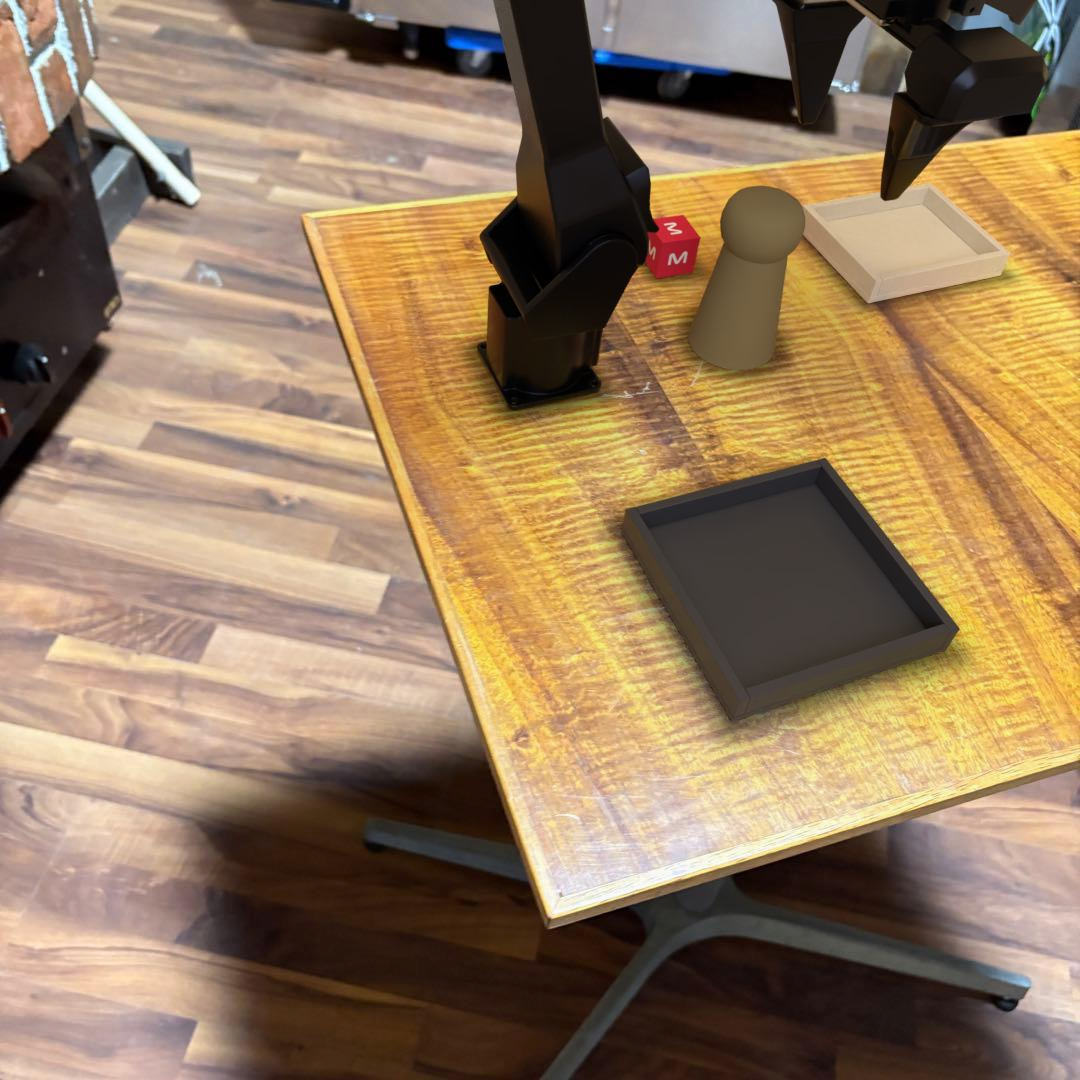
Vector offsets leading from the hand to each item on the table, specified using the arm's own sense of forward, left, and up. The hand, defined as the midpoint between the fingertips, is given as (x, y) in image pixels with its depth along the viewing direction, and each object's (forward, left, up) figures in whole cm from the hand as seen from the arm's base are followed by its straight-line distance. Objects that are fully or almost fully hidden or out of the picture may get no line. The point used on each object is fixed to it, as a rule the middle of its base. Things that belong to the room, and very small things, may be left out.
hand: (846, 159), depth 63 cm
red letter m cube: (-6, +9, -13) cm, 17 cm away
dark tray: (-13, -20, -13) cm, 27 cm away
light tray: (+13, +6, -13) cm, 19 cm away
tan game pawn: (-5, 0, -13) cm, 14 cm away
